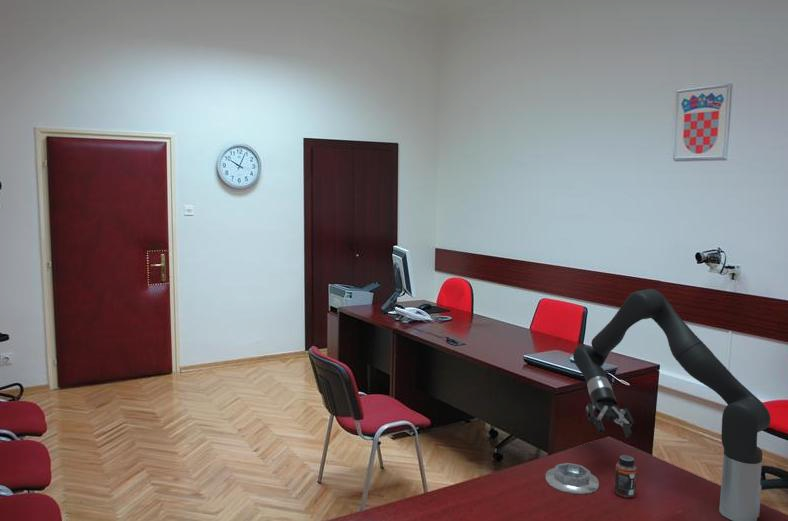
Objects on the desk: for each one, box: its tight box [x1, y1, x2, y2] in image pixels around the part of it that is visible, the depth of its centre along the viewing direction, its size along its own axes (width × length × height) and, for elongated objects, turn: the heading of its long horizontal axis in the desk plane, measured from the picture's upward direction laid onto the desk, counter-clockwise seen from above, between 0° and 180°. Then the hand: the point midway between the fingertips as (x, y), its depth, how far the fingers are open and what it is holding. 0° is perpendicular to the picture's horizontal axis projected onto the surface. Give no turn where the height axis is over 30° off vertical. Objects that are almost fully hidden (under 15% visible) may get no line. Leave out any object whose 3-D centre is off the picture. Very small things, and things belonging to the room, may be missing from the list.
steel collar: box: [545, 462, 600, 495], centre depth 182 cm, size 16×16×4 cm
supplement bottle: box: [614, 454, 638, 499], centre depth 174 cm, size 6×6×11 cm
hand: (615, 434), depth 181 cm, fingers open, 8 cm apart
